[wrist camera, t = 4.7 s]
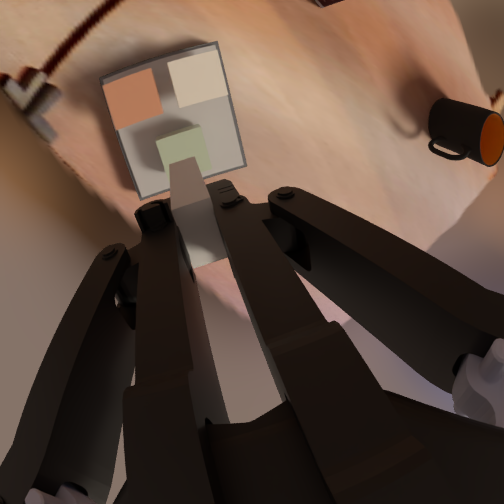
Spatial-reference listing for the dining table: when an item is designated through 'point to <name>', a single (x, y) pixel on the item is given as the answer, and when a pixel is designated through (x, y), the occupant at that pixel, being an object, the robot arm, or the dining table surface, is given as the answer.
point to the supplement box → (326, 2)
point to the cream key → (197, 78)
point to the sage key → (183, 147)
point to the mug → (466, 131)
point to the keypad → (177, 126)
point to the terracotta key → (133, 98)
